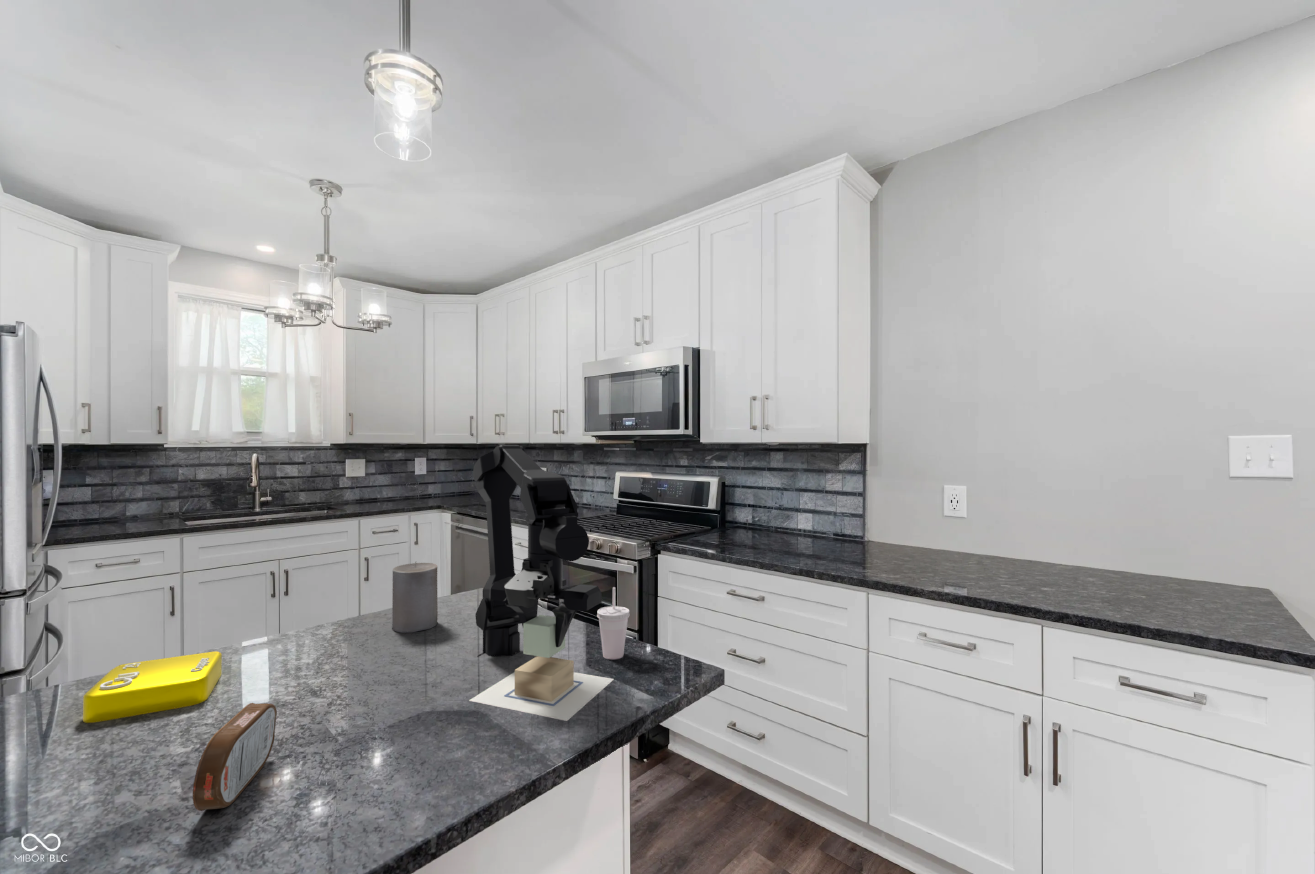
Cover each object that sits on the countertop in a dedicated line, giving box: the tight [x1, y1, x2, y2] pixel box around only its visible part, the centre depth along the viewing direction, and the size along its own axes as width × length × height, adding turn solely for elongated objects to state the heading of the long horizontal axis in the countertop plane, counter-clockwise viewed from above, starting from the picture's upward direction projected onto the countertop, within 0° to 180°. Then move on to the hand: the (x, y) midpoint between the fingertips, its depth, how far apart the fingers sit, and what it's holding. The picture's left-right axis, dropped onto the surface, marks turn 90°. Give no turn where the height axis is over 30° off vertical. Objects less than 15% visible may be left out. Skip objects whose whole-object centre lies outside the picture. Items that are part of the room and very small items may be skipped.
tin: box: [192, 702, 278, 812], centre depth 68 cm, size 15×3×8 cm, turn 13°
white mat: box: [468, 671, 614, 722], centre depth 93 cm, size 18×16×1 cm
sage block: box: [522, 614, 566, 658], centre depth 93 cm, size 5×5×5 cm
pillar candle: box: [391, 561, 439, 634], centre depth 129 cm, size 10×10×15 cm
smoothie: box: [596, 586, 631, 660], centre depth 109 cm, size 6×6×14 cm
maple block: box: [514, 656, 575, 702], centre depth 93 cm, size 7×7×4 cm
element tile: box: [82, 650, 223, 724], centre depth 93 cm, size 15×15×5 cm
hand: (544, 644), depth 93 cm, fingers closed on sage block, 5 cm apart
